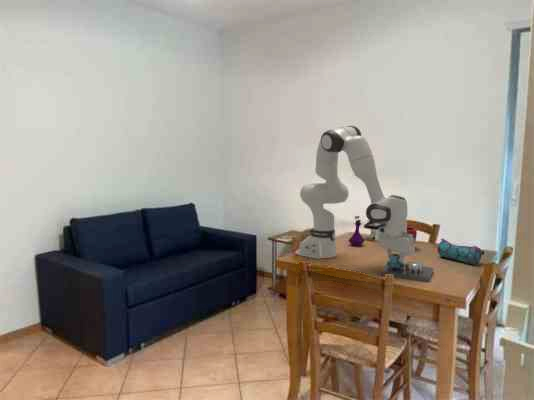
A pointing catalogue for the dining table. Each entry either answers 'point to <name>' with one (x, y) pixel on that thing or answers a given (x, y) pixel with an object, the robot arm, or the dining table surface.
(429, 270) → the carrier plate
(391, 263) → the planet gear
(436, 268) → the dining table surface
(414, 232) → the plant pot
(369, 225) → the black-topped pedestal
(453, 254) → the pencil case
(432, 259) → the dining table surface
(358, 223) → the perfume bottle
